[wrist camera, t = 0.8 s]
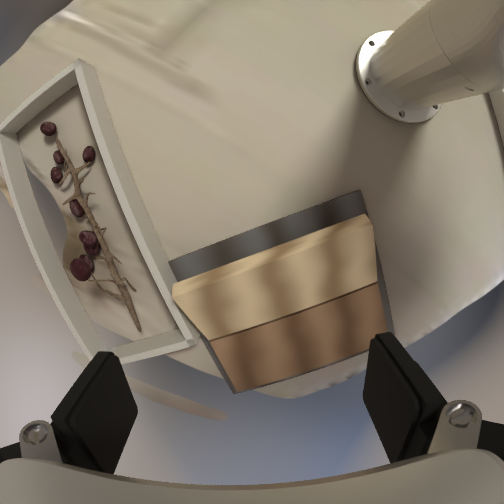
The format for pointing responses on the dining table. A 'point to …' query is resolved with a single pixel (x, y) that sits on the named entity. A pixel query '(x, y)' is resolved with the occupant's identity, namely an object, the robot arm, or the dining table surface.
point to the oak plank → (281, 279)
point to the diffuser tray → (498, 109)
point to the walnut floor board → (271, 241)
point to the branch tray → (8, 152)
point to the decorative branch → (79, 207)
